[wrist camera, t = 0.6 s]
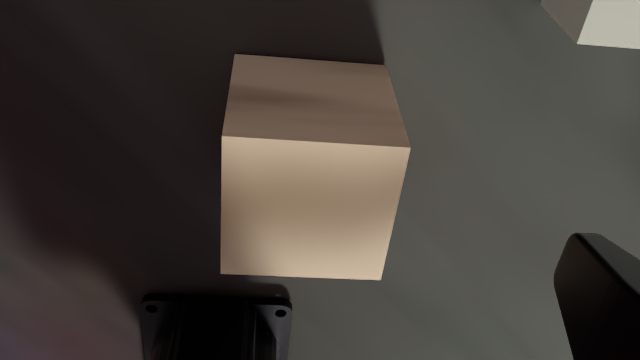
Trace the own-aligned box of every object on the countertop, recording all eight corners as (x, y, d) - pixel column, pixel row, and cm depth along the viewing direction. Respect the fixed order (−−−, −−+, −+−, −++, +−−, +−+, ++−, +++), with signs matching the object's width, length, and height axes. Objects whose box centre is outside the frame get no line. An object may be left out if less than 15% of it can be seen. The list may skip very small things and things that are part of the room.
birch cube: (364, 184, 23) (380, 280, 19) (231, 177, 23) (220, 273, 19) (385, 65, 20) (410, 147, 16) (234, 53, 20) (221, 135, 16)
